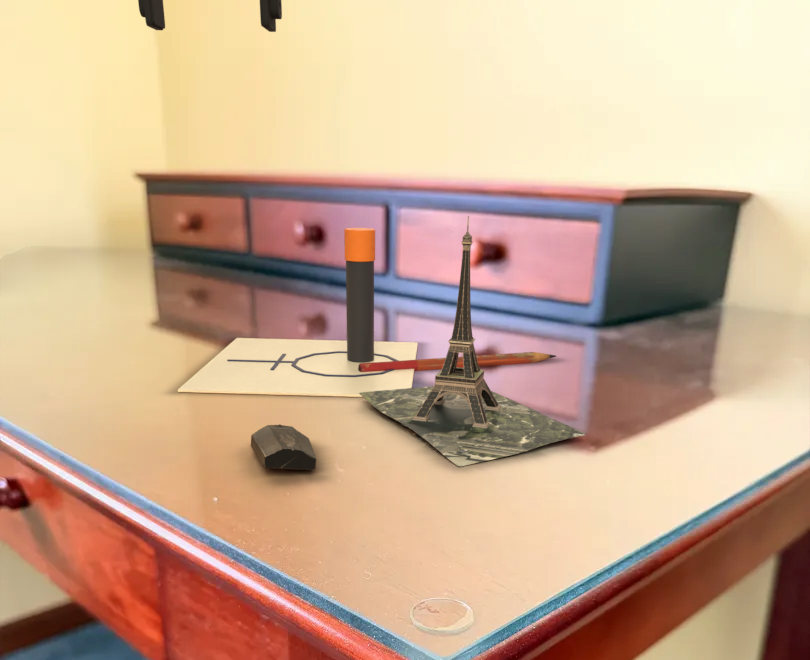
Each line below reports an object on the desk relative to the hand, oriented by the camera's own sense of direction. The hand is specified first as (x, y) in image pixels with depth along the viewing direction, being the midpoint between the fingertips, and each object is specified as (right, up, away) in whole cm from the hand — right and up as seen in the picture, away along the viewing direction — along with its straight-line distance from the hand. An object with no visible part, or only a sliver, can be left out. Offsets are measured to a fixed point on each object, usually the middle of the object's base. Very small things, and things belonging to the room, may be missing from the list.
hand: (212, 28), depth 69 cm
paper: (+8, -28, +3) cm, 29 cm away
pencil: (+21, -28, +3) cm, 35 cm away
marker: (+12, -27, +4) cm, 30 cm away
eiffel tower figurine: (+21, -35, -12) cm, 42 cm away
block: (+9, -39, -20) cm, 44 cm away
